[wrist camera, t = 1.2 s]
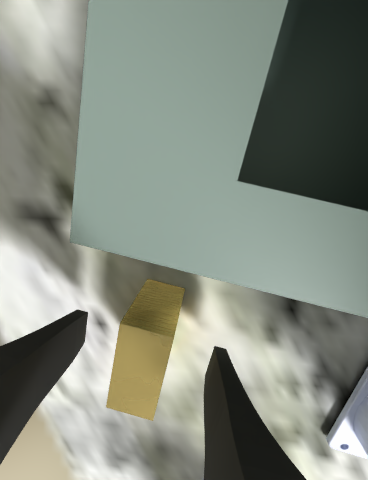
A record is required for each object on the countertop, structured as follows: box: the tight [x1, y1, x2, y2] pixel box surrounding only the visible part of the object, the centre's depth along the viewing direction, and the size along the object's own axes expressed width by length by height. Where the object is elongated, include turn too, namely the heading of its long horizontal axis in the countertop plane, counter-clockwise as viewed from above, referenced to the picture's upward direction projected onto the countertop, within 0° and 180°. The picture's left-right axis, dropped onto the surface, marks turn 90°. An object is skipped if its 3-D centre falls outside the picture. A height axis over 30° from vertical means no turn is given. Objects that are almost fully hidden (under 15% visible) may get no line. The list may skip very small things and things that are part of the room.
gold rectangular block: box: [106, 279, 185, 421], centre depth 12 cm, size 2×5×4 cm, turn 167°
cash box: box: [70, 0, 368, 318], centre depth 7 cm, size 13×13×6 cm
